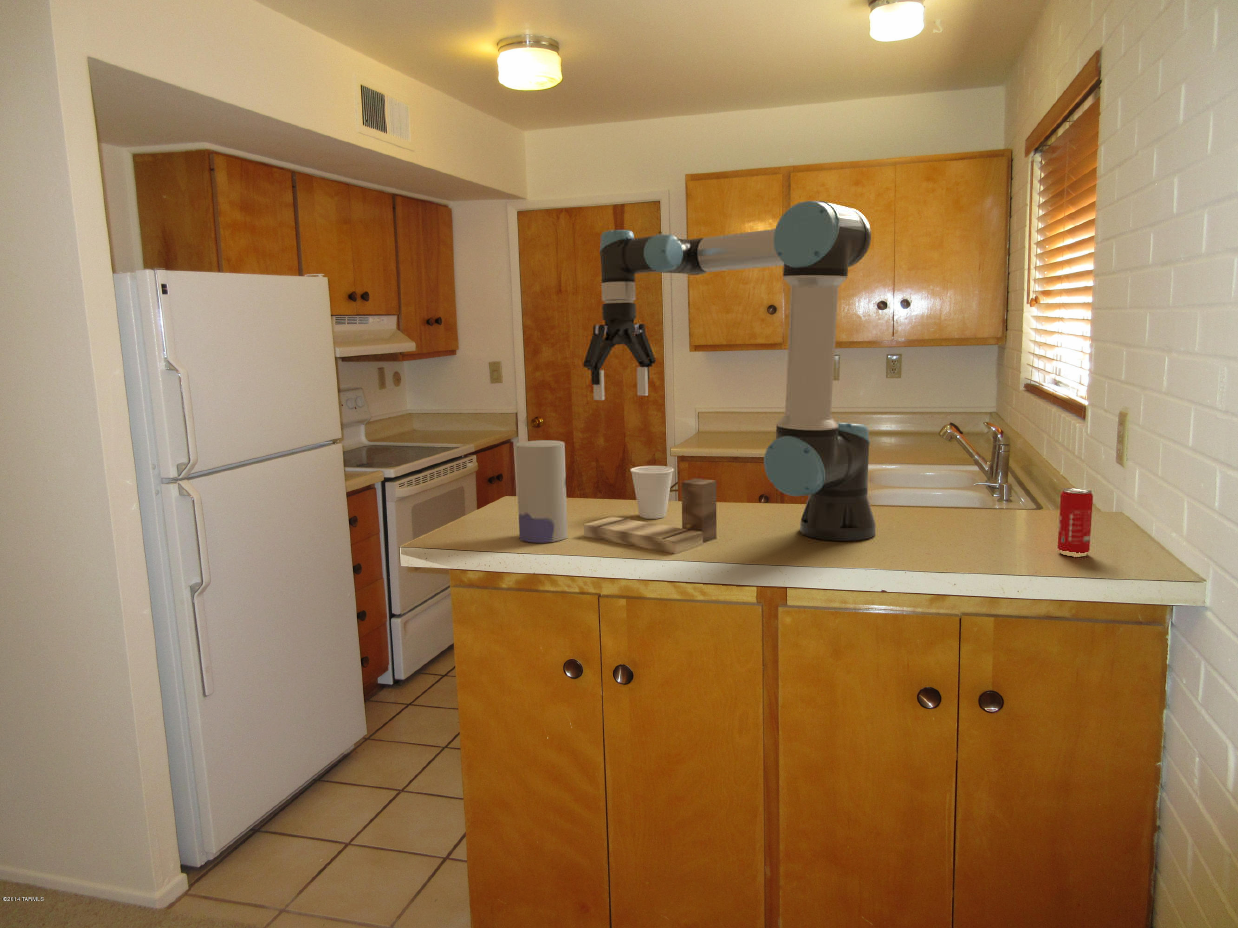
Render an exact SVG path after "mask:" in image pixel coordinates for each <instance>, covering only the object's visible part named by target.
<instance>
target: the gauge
mask: <svg viewBox="0 0 1238 928" xmlns="http://www.w3.org/2000/svg"><path fill="white" fill-rule="evenodd" d="M717 527H718V526H717V480H713V479H705V478H692V479H688V480H684V481H681V528H682V529H688V530H689V529H691V530H694V531H700V532H703V544H705V543H708V542H711V541H714V540H716V539H717V536H718V535H717V534H718V533H717V531H718V530H717Z"/></svg>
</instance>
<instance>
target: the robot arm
mask: <svg viewBox="0 0 1238 928" xmlns="http://www.w3.org/2000/svg"><path fill="white" fill-rule="evenodd" d="M784 212H785V213H783V214H782V215H781V216H780V218H779V219H778V222H777V223H776V227H775V228H771V229H765V230H763V229H762V230H755V231H746V232H740V233H731V234H722V235H717V236H709V237H708V236H707V237H700V238H692V239H689V238H688V239H686V238H677V237H676V236H675V235H674V234H661V233H659V234H655V235H650V236H643V237H638V238H637V237H635V235H634V232H633V231H632V230H628V229H616V230H613V229H612V230H607V231H604V232H602V233H601V234H600V247H599V255H600V271H601V272H600V273H601V274H600V276H601V300H602V302H604V303H603V304H602V305H601V307H602V308H601V310H602V311H601V313H602V315H601V317H602V321H604V324H594V325H593V326H592V327H593V328H592V337H591V339H590V341H589V342H590V343H589V346H588V349H587V352H586V354H585V358H584V361H583V364H582V366H583V368H586V369H587V370H588V371H590V373H591V374H590V376H591V377H590V378H591V385H592V386H593V400H594V401H604V400H605V398H606V397H605V370H604V369H603V370H602V367H603V365H604V364H605V361H606V360H607V358H608V356H609V355H610V353H611V351H612V349H613V348H614V347H615V346H616V345H625V346H626V347H627V348H628V350H629V352H630V353H631V354H632V356H633V358H634V359H635V361H636V362H637V364H638V366H637V367H636V382H637V383H636V385H637V386H636V387H637V396H643V397H644V396H645V397H646V396H649V382H648V381H649V380H650V368H652V367H653V365H654V364H656V357H655V355H654V352H653V350H652V347H651V345H650V342H649V338H648V336H647V333H646V326H645V323H635V320H636V318H637V307H636V303H635V302H634V301H635V300H636V299H637V297H636V274H645V273H646V274H648V273H650V274H651V273H658V274H660V273H661V274H680V275H681V274H683V275H690V276H698V275H699V276H700V275H703V274H706V273H712V272H713V273H714V272H722V271H724V272H725V271H735V270H747V269H759V268H769V267H779V266H780V267H781V266H783V269H782V270H783V271H782V273H783V274H782V275H783V276H782V277H783V280H784V281H785V282H786V283H787V284H788V285H789V287H790V300H789V301H790V303H789V324H788V343H787V344H788V345H787V349H788V350H787V366H786V383H785V384H786V387H785V405H784V406H785V408H784V415H783V416H782V417H781V418H780V419H779V420H778V421H777V422H776V424H775V425H776V429H775V439H774V440H773V441H772V442H771V443H770V445H768V446H767V448H766V451H765V453H764V457H763V466H764V470H765V474H766V476H767V478H768V480H769V481H770V483H772V484H773V486H774V488H775V489H777V490H778V491H779V492H781V493H783V494H784V495H787V496H792V497H802V496H808V498H807V500H806V503H805V507H804V511H803V512H802V515H801V518H800V522H799V523H800V524H799V525H800V527H799V528H800V530H799V531H800V533H801V534H802V535H803V536H806V537H809V538H813V539H816V540H824V541H835V542H851V541H853V542H854V541H863V540H868V539H871V538H873V537H875V536H876V531H877V530H876V528H877V525H876V521H875V517H874V513H873V511H872V508H871V505H870V501H869V497H868V491H869V489H868V488H869V485H868V483H869V456H870V444H871V440H870V433H869V428H868V427H867V426H866V425H865V424H863V423H862V424H860V423H848V422H836V421H835V420H834V418H833V417H832V405H833V403H832V402H833V401H832V398H833V387H834V386H833V385H834V371H835V370H834V366H835V350H836V336H837V335H836V332H837V319H838V303H839V302H838V300H839V299H838V298H839V297H838V296H839V287H840V286H841V285H842V284H843V283H844V282H846V281H847V279H848V273H849V268H851V267H853V266H855V265H856V264H858V263H859V262H860V261H861V260H862V259H863V258H864V257H865V255H866V254H867V252H868V250H869V248H870V246H871V242H872V229H871V227H870V223H869V221H868V219H867V218H866V216H864V215H863V214H862V213H861V212H860V211H859V210H858V209H856V208H853V207H849V206H845V205H838V204H835V203H830V202H827V201H823V200H805V201H800V202H797V203H796V204H794V205H792V206H790V207H789V208H787V210H786V211H784Z"/></svg>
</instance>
